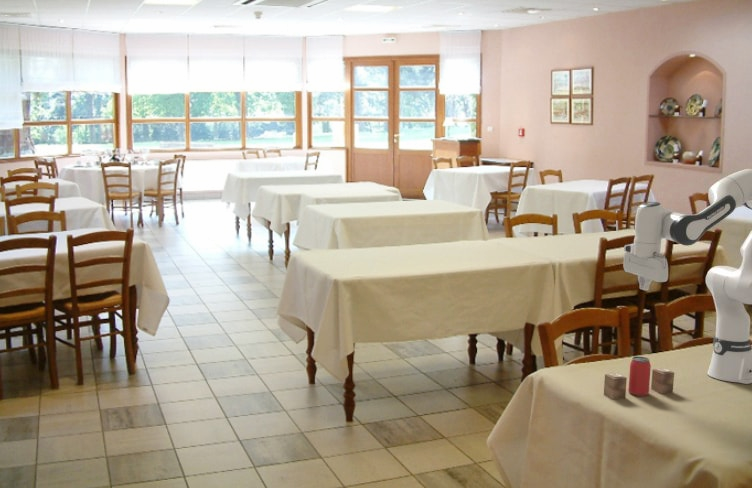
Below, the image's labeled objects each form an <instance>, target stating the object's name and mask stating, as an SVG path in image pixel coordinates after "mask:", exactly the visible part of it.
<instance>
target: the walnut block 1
mask: <svg viewBox="0 0 752 488" xmlns="http://www.w3.org/2000/svg"><path fill="white" fill-rule="evenodd" d="M626 391H627V377H626V376H624V375H623V374H621V373H619V372H616V373H606V374H604V384H603V395H604V396H606V397H607V398H609V399H611V400H618V399H619V400H621V399H626V394H627V392H626Z"/></svg>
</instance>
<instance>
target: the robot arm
mask: <svg viewBox="0 0 752 488" xmlns="http://www.w3.org/2000/svg"><path fill="white" fill-rule="evenodd" d="M707 196H708V201H709V204H710V205H709V206H707V207H705V208H704V209H702V210H700V211H699V212H698V213H696V214H695V213H694V214H685V213H684V214H683V213H681V212H677V211H673V210H671V209H668V208H667V207H665V206H664V205H663V204H662V203H660V202H658V201H648V202H643V203H641V204H639V206H638V207H637V210H636V214H635V220H634V231H635V233H634V234H635V235H634V239H633V243H631V244H625V245H624V246H623V248H624V249H623V250H624V254H623V262H622V265H623V269H624V272H626V273H629V274H633V275H636V276H637V280H638V284H639V289H640V290H643V291H645V292H646V291H647V292H648V291H649V290H650V285H651V283H652V282H656V283H657V282H658V283H664V282H667V281H668V279H669V265H668V264H669V263H668V260H667V258H666V256H665V254H663V253H661V250H662V249H661V246H662V239H665V240H669V241H672V242H676V243H677V244H680V245H682V246H688V247H689V246H692V245H695V244H696V243H697V242H698V241H700V239H701V238H702V237H703V236H704V235H705V233H707V231H708V230H710V229H712V228H713V227H714V226H715V225H717V224H719V223H721V221H723V220H725V218H727V217H729V216H731V214H732V213H733V212H734V211H735V209H737V208H739V207H741V206H742V205H743V207H745V208H747V209H749V210H750V211H751V210H752V168H745V169H742V170H739V171H736V172H734V173H731V174H729V175H727V176H725V177H723V178H721V179H720V180H718V181H716V182H714V183H713V185H711V186H710V187H709V189H708V195H707ZM739 250H740V251H739V252H740V255H741V257H742V261H741V264H740V266H739V268H736V267H733V266H729V265H715V266H713V267H711V268H710V269H709V270H708V271H707V274H706V276H705V284H706V287H707V289H708V290H709V291H710V293H711V296H712V298H713V303H714V307H715V312H716V325H715V326H716V327H715V335H714V336H713V343H712V344H713V345H712V346H713V349H712V350H713V351H712V355H711V360H710V363H709V367H708V370H707V375H708V376H709V377H711V378H714V379H716V380H719V381H720V380H721V381H724V382H725V381H726V382H731V383H732V382H733V383H738V384H739V383H740V384H744V385H745V384H746V385H748V384H752V339H750V329H751V317H750V314H749V313H748V311H747V310H746V308H745V306H744V304H745V305H746V304H747V305H752V229H751V230H750V232H749V234H748V235H747V236H746V238H745V239H744V242H743V243H742V244H741V246H740V249H739Z"/></svg>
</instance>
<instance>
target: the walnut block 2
mask: <svg viewBox="0 0 752 488" xmlns="http://www.w3.org/2000/svg"><path fill="white" fill-rule="evenodd" d="M651 374H652V375H651V383H650V384H651V386H650V389H651V390H652V391H654V392H656V393H658V394H659V395H662V393H663V394H670V393H673V392H674V381H675V372H674V371H672V370H670V369H667V368H666V367H663V368H662V367H661V368H654V369H651Z"/></svg>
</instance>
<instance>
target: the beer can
mask: <svg viewBox="0 0 752 488" xmlns="http://www.w3.org/2000/svg"><path fill="white" fill-rule="evenodd" d="M629 365H630V366H629V377H628V389H627V390H628V392H629V394H630V395H634V396H636V397H637V396H638V397H644V396H647V395H649V394H650V384H651V383H650V382H651V381H650V380H651V370H652V369H651V368H652V367H651V362H650V358H648V357H645V356H633V357H632V358H631V361H630V364H629Z"/></svg>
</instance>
